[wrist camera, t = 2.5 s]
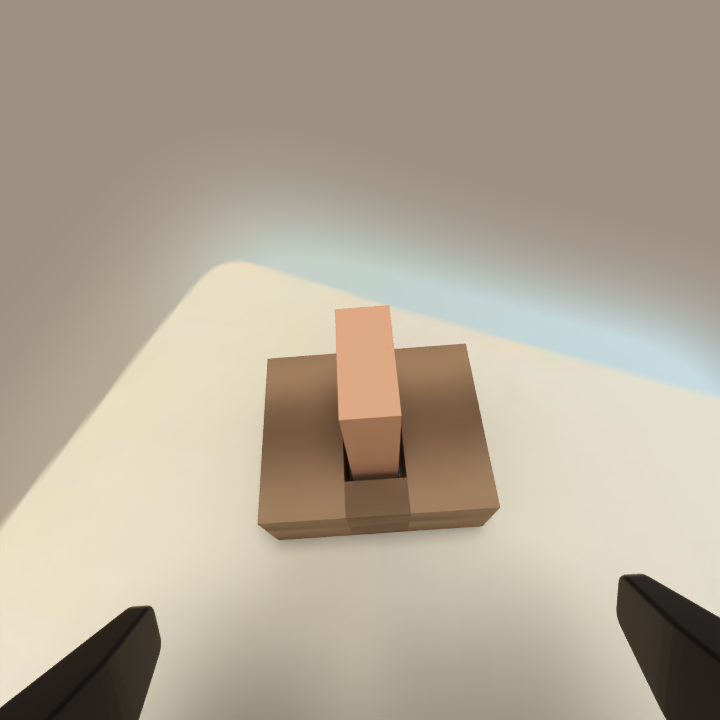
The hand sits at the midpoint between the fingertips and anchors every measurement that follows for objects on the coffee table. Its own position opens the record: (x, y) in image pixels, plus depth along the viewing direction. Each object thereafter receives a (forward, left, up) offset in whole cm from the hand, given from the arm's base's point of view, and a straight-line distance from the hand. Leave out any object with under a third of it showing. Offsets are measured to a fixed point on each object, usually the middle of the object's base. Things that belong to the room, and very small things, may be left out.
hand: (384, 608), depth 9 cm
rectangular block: (+6, -5, -13) cm, 15 cm away
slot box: (+6, -5, -13) cm, 15 cm away
